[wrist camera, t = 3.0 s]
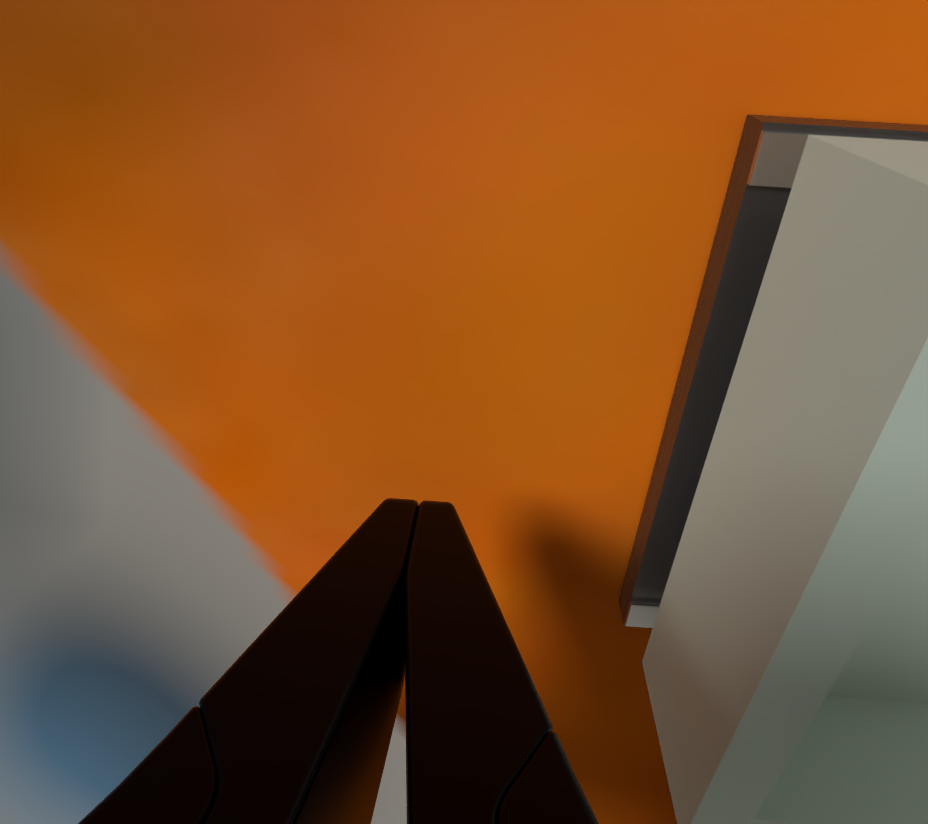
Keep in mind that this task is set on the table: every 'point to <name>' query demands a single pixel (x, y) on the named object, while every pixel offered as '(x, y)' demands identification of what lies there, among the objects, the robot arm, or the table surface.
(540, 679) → the table surface
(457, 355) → the table surface
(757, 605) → the pale green tray
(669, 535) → the track
